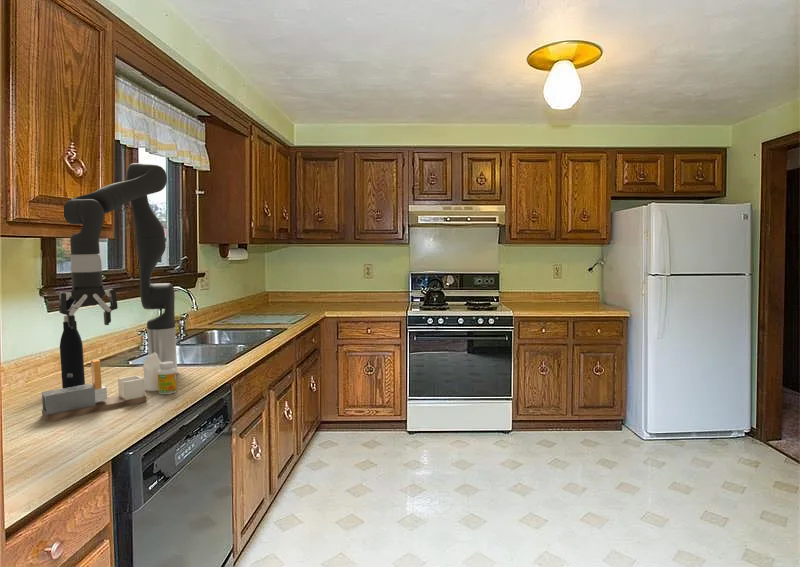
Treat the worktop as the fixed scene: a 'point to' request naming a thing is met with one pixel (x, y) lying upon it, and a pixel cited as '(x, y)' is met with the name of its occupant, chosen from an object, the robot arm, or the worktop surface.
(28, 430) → the worktop surface
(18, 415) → the worktop surface
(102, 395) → the slide bolt
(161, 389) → the supplement bottle
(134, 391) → the socket
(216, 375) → the worktop surface
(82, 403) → the grey rectangular box
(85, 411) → the board
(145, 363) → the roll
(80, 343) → the black bottle
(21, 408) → the worktop surface
